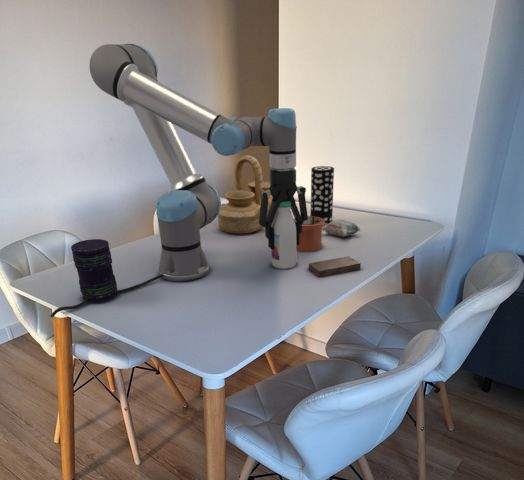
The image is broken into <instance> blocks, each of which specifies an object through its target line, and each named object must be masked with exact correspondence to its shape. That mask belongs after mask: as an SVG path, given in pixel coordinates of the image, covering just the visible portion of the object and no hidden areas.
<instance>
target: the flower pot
mask: <svg viewBox="0 0 524 480" xmlns="http://www.w3.org/2000/svg"><path fill="white" fill-rule="evenodd" d="M293 219H294V222H296V220H295V218H294V217H293ZM324 222H325V221H324V219H322V218H320V217H314V216H311V215H308V220H305V221H304V223H303V224H302V232H301V233H299V245H296V251H299V252H306V253H307V252H308V253H310V252H317V251H319V250H321V249H322V243H323V242H322V241H323V240H322V239H323V237H322V236H323V230H322V228H323V227H324V226H325V225H324Z"/></svg>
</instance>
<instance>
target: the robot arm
mask: <svg viewBox="0 0 524 480" xmlns="http://www.w3.org/2000/svg"><path fill="white" fill-rule="evenodd" d="M88 64H89V73H90V76H91V78H92V81H93V82H94V84H95V85H96V86H97V87H98V88H99V89H100V90H101V91H103V92H104V93H106V94H107V95H109V96H111V97H113V98H115V99H117V100H119V101H121V102H123V104H124V105H125V106H128V107H131V109H132V110H133V112H134V114H135V116H136V118H137V120H138V123H140V126H141V128H142V129H143V132H144V133H145V136H146V137H147V139H148V142H149V144H150V146H151V148H152V150H153V151H154V153H155V156H156V158H157V159H158V161H159V163H160V165H161V167H162V169H163V172H164V173H165V175H166V178H167V179H168V181H169V183H170V185H171V187H170V190H169V192H166V193H163V194H162V195H160V196H159V197H158V198H157V200H156V204H155V207H156V218H157V224H158V231H159V237H160V243H161V244H160V245H161V253H160V254H161V256H160V258H159V264H158V275H156V276H153V277H152V278H149V279H147V280H145V281H143V282H140V283H138V284H134V285H131V286H130V287H126V288H121V289H117V292H118V294H122V293H125V292H129V291H132V290H135V289H137V288H141V287H143V286H146V285H148V284H150V283H152V282H154V281H156V280H158V279H163V280H166V281H169V282H190V281H194V280H198V279H201V278H203V277H205V276H206V275H208V274H209V272H210V265H209V262H208V259H207V257H206V255H205V253H204V250H203V247H202V243H201V231H200V230H202V229H203V228H204V227H206V226H207V225H209V224H211V223H212V222H213V221H215V219H216V218H218V214H219V212H220V209H221V204H222V200H221V195H220V194H219V192H218V191H217V189H216V188H215V187H214V186H212V185H210V184H208V182H207V180H206V178H205V176H204V175H202V174H201V173H200V174H199V173H198V172H197V171H196V169H195V166H194V164H193V163H192V161H191V159H190V156H189V155H188V153H187V150H186V148H185V146H184V144H183V142H182V140H181V138H180V136H179V134H178V131H177V130H176V128H175V126H176V127H178V128H180V129H182V130H184V131H185V132H188V133H189V134H191V135H193V136H195V137H197V138H198V139H200V140H203V141H205V142H206V143H208V144H210V145H211V146H212V147H213V149H214V150H215V152H216V153H217V154H218V155H220V156H225V157H230V156H234V155H236V154H239V153H240V152H241V151H243V150H246V149H248V148H250V147H268V151H269V152H268V153H269V168H270V170H269V182H270V188H269V190H267V191H261V192H260V195H261V208H260V217H259V224H260V225H261V226H262V228H264V232H265V233H264V234H265V235H264V236H265V238H266V239H267V244H268V248H269V249H270V250H271V249H274V228H273V227H272V223H273V220H274V217H275V214H276V211H277V209H278V206H279V205H280V202H283V201H291V209H290V210H291V214H292V216H293V219H294V218H295V220H296V222H295V225H296V245H299V233H301V232H302V224H303V223H304V221H305V220H308V216H309V215H308V209H307V208H308V207H307V201H306V193H307V188H306V187H305V186H302V185H300V186H297V169H296V167H297V127H298V126H297V117H296V115H297V114H296V111H295V110H294V109H293V108H289V107H280V108H271V109H269V110H268V113H267V116H242V115H241V116H233V117H230V118H228V117H225V116H223V115H221V114H220V113H218V112H216V111H215V110H212V109H211V108H209V107H207V106H205V105H203V104H201V103H199V102H197V101H195V100H194V99H191V98H190V97H188V96H186V95H184V94H183V93H181V92H179V91H177V90H175V89H173V88H171V87H169V86H167V85H165V84H163V83H162V82H160V81H159V80H158V73H159V70H158V64H157V62H156V60H155V57H154V56H153V54H152V53H151V52H150V51H149V50H148V49H147V48H145V47H144V46H141V45H137V44H135V43H124V44H121V43H120V44H115V43H107V44H103V45H100V46H98V47H96V49H94V50H93V52H92V54H91V55H90V59H89V63H88ZM270 194H271V195H272V197H273V198H272V201H271V206H270V209H269V212H268V215H267V209H268V198H269V195H270ZM295 194H297V200H298V205H297V203H296V199H295V197H294V196H295ZM298 207H299V208H298ZM87 302H88V299H86V300H85V301H84V300H83V301H81V302H80V303H78V304H74V305H68V306H61V307H58V308H56V309H55V310H53V311H52V313H51V315H50V318H53V317H55V316H56V315H57V314H58V313H59V312H61V311H69V310H75V309H78V308H81V307H83V306H84V305H87V304H88V303H87Z"/></svg>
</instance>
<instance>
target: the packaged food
mask: <svg viewBox="0 0 524 480" xmlns="http://www.w3.org/2000/svg"><path fill="white" fill-rule="evenodd" d="M322 231H324V232H325V233H326V234H330V235H333V236H337V237H340V238H342V237H343V238H344V237H349V236H352V235H355V234H357V233H358V232H360V231H361V228H360V227H359V226H358V225H357V224H356V223H354V222H351V221H347V220H344V219H335V220H332V222H331V223H329V224H327V225H324V227H323V228H322Z"/></svg>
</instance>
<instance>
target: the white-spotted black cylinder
mask: <svg viewBox="0 0 524 480" xmlns="http://www.w3.org/2000/svg"><path fill="white" fill-rule="evenodd" d="M310 172H311V173H310V174H311V175H310V177H311V178H310V181H311V182H310V216H314V217H320V218H322V219H324V221H325V222H324V226H326V225H327V224H329V223H331V222H332V221H333V209H334V208H333V207H334V183H335V181H334V178H335V167H333V166H328V165H320V166H319V165H318V166H313V167H311V171H310Z"/></svg>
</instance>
